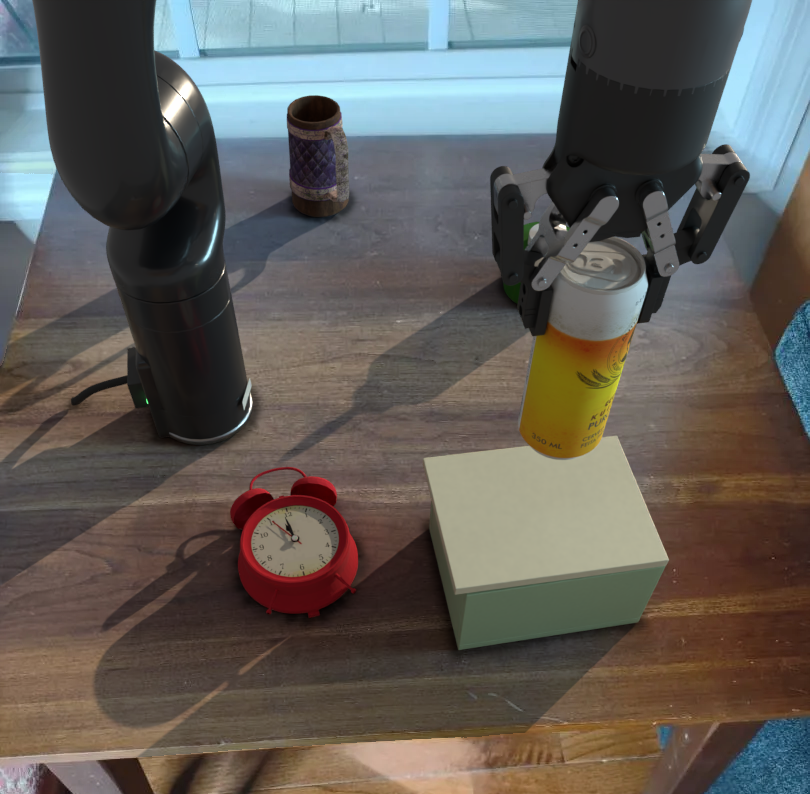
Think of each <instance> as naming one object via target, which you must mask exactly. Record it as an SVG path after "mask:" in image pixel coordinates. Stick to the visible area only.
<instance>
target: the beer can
mask: <svg viewBox="0 0 810 794" xmlns="http://www.w3.org/2000/svg"><path fill="white" fill-rule="evenodd" d="M642 255H643V254H642V252H640V250H639V249H638V248H637V247H635V246H634V245H633V244H631V243H630V242H628V241H626V240H624V239H622V238H621V237H611V238H608V239H605V240H602V241H596V242H589V243H588V244H587V246H586V247H585V248H584V250H583V251H582V252H581V254H580V255H579V256H578V258H577V259H576V260H575V261H574V262H573V263H567V264H566V265H565V266H564V267H563V269H562V270H561V271H560V273H559V274H558V276H557V277H556V278H555V280H554V281H553V282H552V284H551V285H552V287H553V290H554V291H553V296H552V301H551V306H550V311H549V316H548V321H547V326H546V331H545V334H544V335H540V336H532V341H531V347H530V351H529V352H530V353H529V357H528V364H527V369H526V374H525V380H524V385H523V391H522V395H521V396H522V397H521V401H520V407H519V412H518V417H517V418H518V419H517V428H518V431H519V434H520V436H521V438H522V439H523V440H524V442H525V443H526V444H527V446H530V447H531V448H532V449H533V450H534V451H536V452H537V453H539V454H540V455H542V456H545V457H547V458H551V459H556V460H569V459H574V458H577V457H579V456H582V455H585V454H587V453H589V452H591V451H592V450H593V449H594V448H595V447H596V446H597V445H598V444H599V442H600V440H601V438H602V437H603V435H604V433H605V428H606V425H607V422H608V419H609V417H610V416H609V415H610V413H611V409H612V405H613V402H614V399H615V396H616V393H617V389H618V385H619V383H620V379H621V376H622V372H623V370H624V366H625V363H626V360H627V356H628V353H629V351H630V347H631V344H632V341H633V338H634V333H635V331H636V327H637V321H638V318H639V314H640V311H641V308H642V305H643V301H644V298H645V295H646V292H647V288H648V279H647V275H646V271H645V270H646V264H645V260H644V258H643V256H642Z"/></svg>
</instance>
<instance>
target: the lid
mask: <svg viewBox="0 0 810 794" xmlns="http://www.w3.org/2000/svg"><path fill="white" fill-rule="evenodd" d="M422 467H423V471H424V475H425V479H426V480H425V481H426V484H427V487H428V491H429V496H430V501H431V500H432V504H433V508H434V512H435V517H436V521H437V525H438V529H439V533H440V537H441V541H442V545H443V549H444V553H445V557H446V561H447V565H448V569H449V573H450V577H451V582H452V586H453V590H454V594H455V595H457V594H465V593H472V592H479V591H486V590H494V589H501V588H508V587H516V586H523V585H530V584H537V583H545V582H552V581H559V580H567V579H574V578H581V577H588V576H596V575H603V574H610V573H617V572H625V571H632V570H639V569H647V568H654V567H661V566H665V567H667V564H668V563H669V561H670V559H669V557H668V554H667V551H666V550H665V547H664V545H663V542H662V540H661V537H660V535H659V533H658V530H657V527H656V526H655V523H654V521H653V519H652V516H651V514H650V511H649V509H648V506H647V504H646V502H645V499H644V496H643V494H642V492H641V490H640V487H639V484H638V482H637V480H636V477H635V475H634V473H633V470H632V468H631V466H630V464H629V461H628V459H627V456H626V454H625V452H624V449H623V447H622V445H621V442H620V440H619V437H618V435H609V436H602V438H601V440H600V442H599V444H598V445H597V446H596V447H595V448H594V449H593V450H592V451H591V452H589V453H587V454H585V455H582V456H579V457H577V458H574V459H569V460H556V459H551V458H547V457H545V456H542V455H540V454H539V453H537V452H536V451H534V450H533V449H532V448H531V447H530V446H529V445H524V446H523V445H522V446H516V447H508V448H507V447H506V448H505V447H504V448H498V449H490V450H481V451H472V452H471V451H470V452H464V453H454V454H447V455H445V454H444V455H438V456H437V455H436V456H429V457H423V458H422Z"/></svg>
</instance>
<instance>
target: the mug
mask: <svg viewBox="0 0 810 794" xmlns="http://www.w3.org/2000/svg"><path fill="white" fill-rule="evenodd" d="M286 112H287V113H286V129H287V136H288V137H287V139H288V153H289V169H288V172H289V173H288V179H289V188H290V190H291V203H292V205H293V206H294V208H295V209H296V210H297V211H298V212H300V213H301V214H303V215H306V216H309V217H313V218H327V217H332V216H334V215H336V214H339V213H340V212H341V211H342V210H343V209H345V208H346V207H347V206H348V204H349V202H350V199H349V198H350V197H349V196H350V174H349V146H348V140H347V135H346V133H345V130H344V129H343V127H344V125H343V115H342V111H341V106H340V104H339V103H338V102H337V101H336V100H335V99H333V98H331V97H328V96H324V95H318V94H315V95H314V94H313V95H312V94H309V95H305V96H301V97H298V98H296V99H294V100H293V101H292V102H290V103H289V105H288V106H287V109H286Z"/></svg>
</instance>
